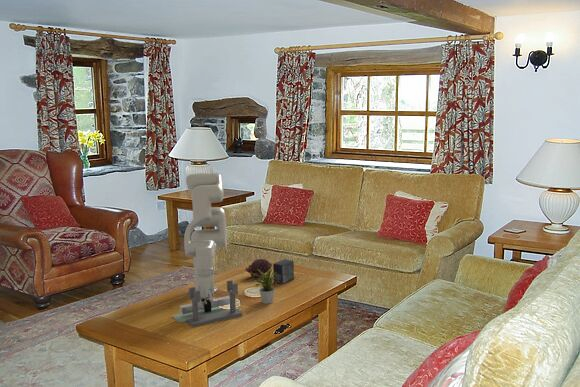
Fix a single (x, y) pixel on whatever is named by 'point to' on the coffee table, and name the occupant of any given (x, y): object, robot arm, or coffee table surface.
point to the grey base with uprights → (216, 317)
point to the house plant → (266, 287)
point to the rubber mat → (184, 317)
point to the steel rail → (215, 303)
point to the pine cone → (259, 267)
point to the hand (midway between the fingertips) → (206, 310)
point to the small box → (283, 271)
